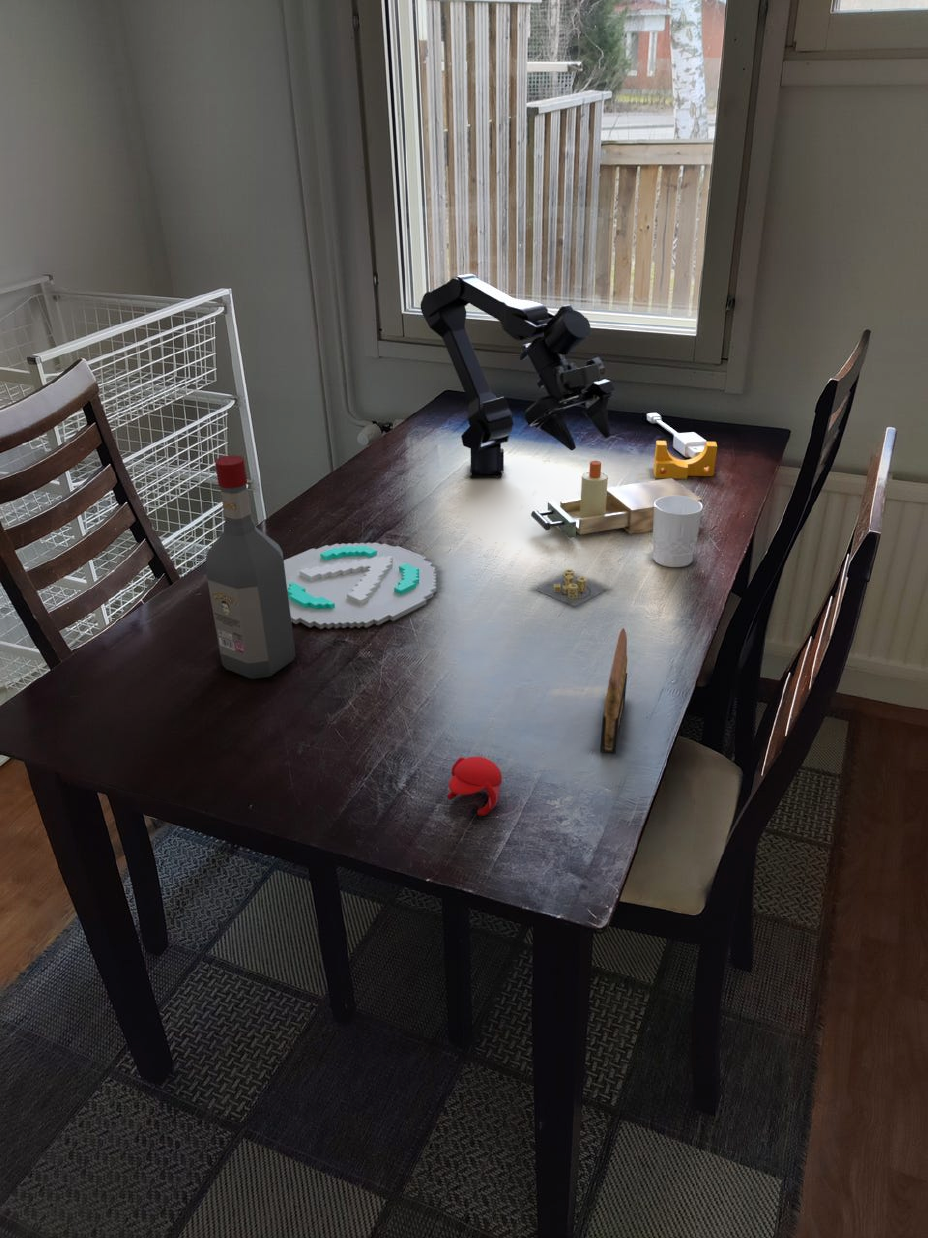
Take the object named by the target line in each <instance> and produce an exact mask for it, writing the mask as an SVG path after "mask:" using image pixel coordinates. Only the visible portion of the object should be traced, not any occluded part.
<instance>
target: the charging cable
mask: <svg viewBox="0 0 928 1238" xmlns="http://www.w3.org/2000/svg"><path fill="white" fill-rule="evenodd" d="M645 415H646V420H647V421H648V422H649V423H651V424H658V425H660V426H661V427H662V428H664V429H665V430H666V431H667V432H669V433H670V434H671V435H673V441H672V447H673V449H675V450H676V451H677V452H678V453H680V454H681V455H682V456H684V457H685V458H691V459H692V458H694V457H696V456H698V455H699V454H700V453H701V452H702V450H703V449H704V447H705V444H706V442H708V441H707V440H706V439H704V438H703V437H702V436H701V435H699V434H698V433H696V432H695V431H691V432H677V431H676V430H675V429H673V428H672V427H670V425H668V424H667V423H665V422H663V419H662V416H661V414H659V413H657V412H650V413H646V414H645Z"/></svg>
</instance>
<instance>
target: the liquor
mask: <svg viewBox="0 0 928 1238" xmlns="http://www.w3.org/2000/svg"><path fill="white" fill-rule="evenodd" d="M214 464H215V471H216V478H217V484H218V487H219V488H220V494H221V502H222V509H223V510H222V511H223V516H224V523H223V531H222V533H221V534H220V535H219V536H218V538H217V539H216V540H215V542H214V543H213V544H212V546H211V547H210V548H209V549H208V550H207V553H206V557H205V575H206V579H207V587H208V592H209V596H210V597H209V598H210V604H211V608H212V609H211V610H212V615H213V620H214V626H215V631H216V638H217V643H218V648H219V649H218V650H219V654H220V660H221V665H222V666H223V667H224V669H225V670H227V671H230V672H232V673H235V674H237V675H240V676H243V677H245V678H248V679H251V680H256V679H262V678H270V677H272V676H273V675H274V674H276V673H277V672H279V671H280V670H281V669H283V668H285V667H286V666H288V665H289V664H291V663H292V662H293V661H294V659H295V657H296V648H295V647H296V645H295V639H294V631H293V622H291V615H290V607H289V599H288V591H287V583H286V575H285V567H284V560H285V559H284V554H283V549H282V548H281V547H280V545H279V543H277V542H276V541H275V540H274V539H272V538H271V537H270V536H268V535H267V534H265V533H264V532H263V531H261V529H259V528H257V527H256V525H255V521H254V519H253V517H252V513H251V505H250V499H249V492H248V485H247V484H248V477H247V470H246V465H245V458H244V457H243V456H241V455H234V454H231V455H224V456H220V457H218V458H216V459H215V461H214Z"/></svg>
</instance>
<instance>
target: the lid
mask: <svg viewBox="0 0 928 1238" xmlns="http://www.w3.org/2000/svg"><path fill="white" fill-rule="evenodd" d="M283 560H284V567H285V575H286V583H287V591H288V599H289V607H290V615H291V623H292V624H295V625H298V624H300V623H301V624H302V625H305V626H306V627H309V628H312V627H317V628H318V629H319V630H322V629H324V628H325V629H328V630H329V629H331V628H334V629H338V628H342V629H346V628H347V627H348V628H350V629H353V628H354V627H356V628H358V629H360V628H361V627H364V628H366V629H367V628H369V627H370V626H372V625H376V626H380V625H381V624H383V623H385V622H388V621H389V620H390V621H391V622H395V621H397V620H398V619H400V618H402V617H404V616H406V615H408V614H409V613H412V612H414V611H415V610H417V609H419V608H421V607H423V606H425V605H427V601H428V600H430V599H432V598H434V594H435V593H437V592H438V577H437V575H438V574H437V573H438V571H437V567H435V566H434V563H432V562H431V561H428V560H427V557H426V556H424V555H421V554H419V553H416V552H413V551H411V550H410V549H409V550H408V549H407V548H404V547H401V546H399V545H395V546H392V545H390V544H387V543H386V542H384V543H381V544H380V543H378V542H377V541H375V542H366V543H364V542H360V543H358V542H354V543H351V542H349V543H344V542H343V543H340V544H339V543H334V544H331V545H328V544H326V545H323V546H320V547H319V548H310V549H307V550H306V551H303V552H300V553H298V554H296V555H293V556H291V557H289V558H287V559H283Z"/></svg>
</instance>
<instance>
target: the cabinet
mask: <svg viewBox="0 0 928 1238" xmlns="http://www.w3.org/2000/svg"><path fill="white" fill-rule="evenodd" d="M607 494H609V495H610V496H611V497H612V498H614V499H615V500H616V501H617V502H619V503H620V504H621V505H622V506H624V507H625V508H626V509H627V510H628V511H630V523H629V527H623V528H622V529H623V530H624V531H626V532H627V533H628V534H629V535H633V534H640V533H645V532H653V518H654V502H655V501H656V500H657V499H659V498H661V497H665V496H685V497H690V498H693V499H695V500H697V501H699V502H700V503H701V504H702V503H703V498H701V497H699V496H698V495H697V494H695V493H693V492H692V491H691V490H689V489H688V488H686V487H685V486H683V485H682V484H681V483H679V482H678V481H676V480H675V479H674V478H660V479H656V480H650V481H641V482H635V483H629V484H622V485H616V486H615V485H614V486H607Z"/></svg>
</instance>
